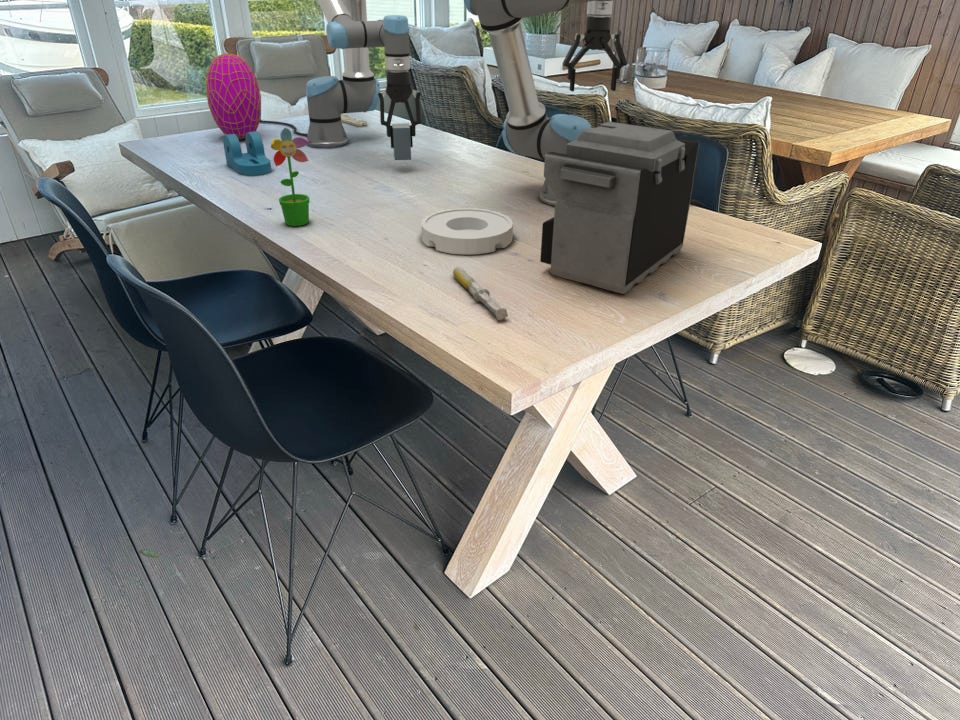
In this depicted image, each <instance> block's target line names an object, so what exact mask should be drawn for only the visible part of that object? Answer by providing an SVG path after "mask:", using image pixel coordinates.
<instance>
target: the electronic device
mask: <svg viewBox="0 0 960 720" xmlns="http://www.w3.org/2000/svg"><path fill="white" fill-rule="evenodd" d="M700 142H701V141H700V140H697V139H690V138H683V137H677V136H676V135H675V133H674V131H673V130H670V129H663V128H656V127H649V126H643V125H636V124H635V125H634V124H628V123H621V122H614V121H606V122H603V123H600V124H599V125H598V126H597V127H591V128H589V129H586V130H583V131H582V132H581V134H580V135H579V137H578V138H577V140H575V141H573V142H570V143H568V144H566V154H562V153H556V152H549V153H547V154H545V160H544V163H543V165H544V166H543V178H544V180H545V179H546V181H547V182H548V184H549V186H550V187H551V189H552V191H553V192H554V194H555V196H556V197H557V198H556V202H555V206H554V213H553V215H554V216H553V217H551V218H549V219H547V220H546V221H543V223H542V227H541V244H540V258H539V259H540V261H539V262H540V263H543V264H546V265H549V266H550V269H549V271H550V273H551V274H552V275H553V276H557V277H561V278H564V279H568V280H571V281H575V282H578V283H582V284H586V285H589V286H592V287H596V288H600V289H604V290H607V291H610V292H614V293H618V294H621V295H625V294H627V293H628V292H630V291H631V289H632V288H633V286H634V285H636V284H640V283H641V282H643V281H644V279H645V278H646V276H648V275H652V274H653V273H654V272H655V271H657V270H658V268H659V267H660V266H661V265H664V264H666V263H667V262H669V260H670V258H671V257H672V256H676V255H678V254H679V253H680V251H681V250H682V248H683V246H684V241H685V235H686V229H687V224H688V217H689V211H690V205H691V203H690V200H692V193H693V188H694V178H695V172H696V167H697V166H696V165H697V160H698V156H699V155H698V154H699V148H700Z"/></svg>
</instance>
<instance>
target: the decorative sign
mask: <svg viewBox="0 0 960 720" xmlns="http://www.w3.org/2000/svg"><path fill="white" fill-rule="evenodd" d="M341 122H343V123H345V124H349V125H352V126H356V127H363V126H365V127H366V126H367V124H368V121H367V120H364V119H357V118H356V117H349V116H348V114H344V113H343V114H341Z"/></svg>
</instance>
